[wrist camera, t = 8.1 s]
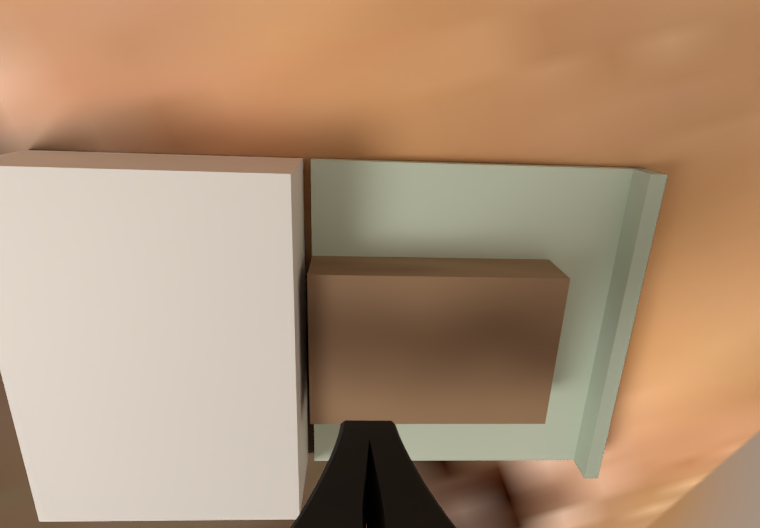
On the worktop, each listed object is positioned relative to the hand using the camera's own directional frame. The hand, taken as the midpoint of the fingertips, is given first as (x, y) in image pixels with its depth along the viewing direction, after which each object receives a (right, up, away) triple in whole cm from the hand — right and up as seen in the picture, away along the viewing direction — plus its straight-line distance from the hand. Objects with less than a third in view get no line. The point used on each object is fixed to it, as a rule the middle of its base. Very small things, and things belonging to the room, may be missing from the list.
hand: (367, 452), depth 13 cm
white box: (-7, +3, +7) cm, 10 cm away
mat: (+4, +2, +7) cm, 8 cm away
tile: (+2, +2, +7) cm, 7 cm away
